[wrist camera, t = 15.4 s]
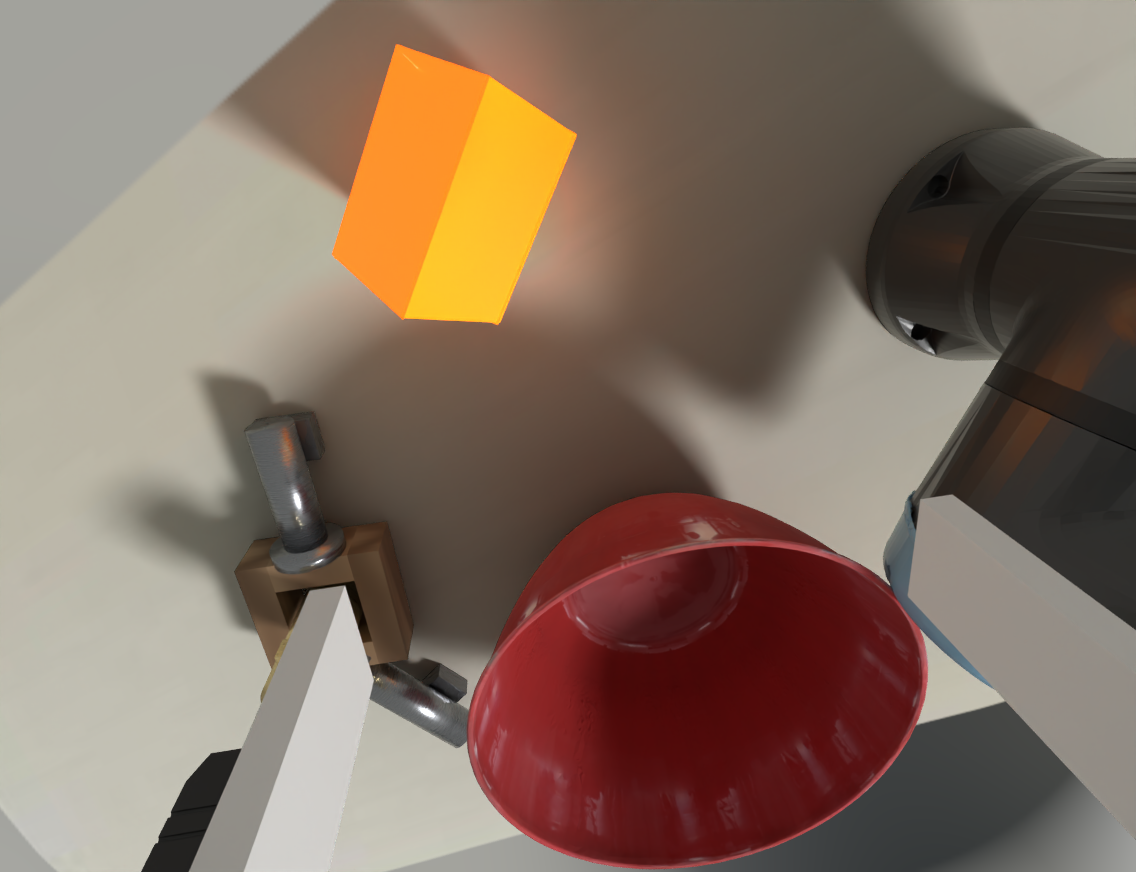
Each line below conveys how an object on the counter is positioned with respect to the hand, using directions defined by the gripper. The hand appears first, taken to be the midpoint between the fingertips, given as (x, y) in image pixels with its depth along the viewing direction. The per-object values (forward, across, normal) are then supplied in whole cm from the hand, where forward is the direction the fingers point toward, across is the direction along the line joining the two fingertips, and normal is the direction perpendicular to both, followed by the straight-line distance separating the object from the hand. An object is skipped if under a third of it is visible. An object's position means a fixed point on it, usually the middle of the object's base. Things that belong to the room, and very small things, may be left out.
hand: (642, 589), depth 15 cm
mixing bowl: (+32, +6, -24) cm, 40 cm away
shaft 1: (+32, -19, -10) cm, 38 cm away
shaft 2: (+32, -15, -29) cm, 46 cm away
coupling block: (+32, -19, -20) cm, 42 cm away
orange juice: (+32, -4, +8) cm, 33 cm away
